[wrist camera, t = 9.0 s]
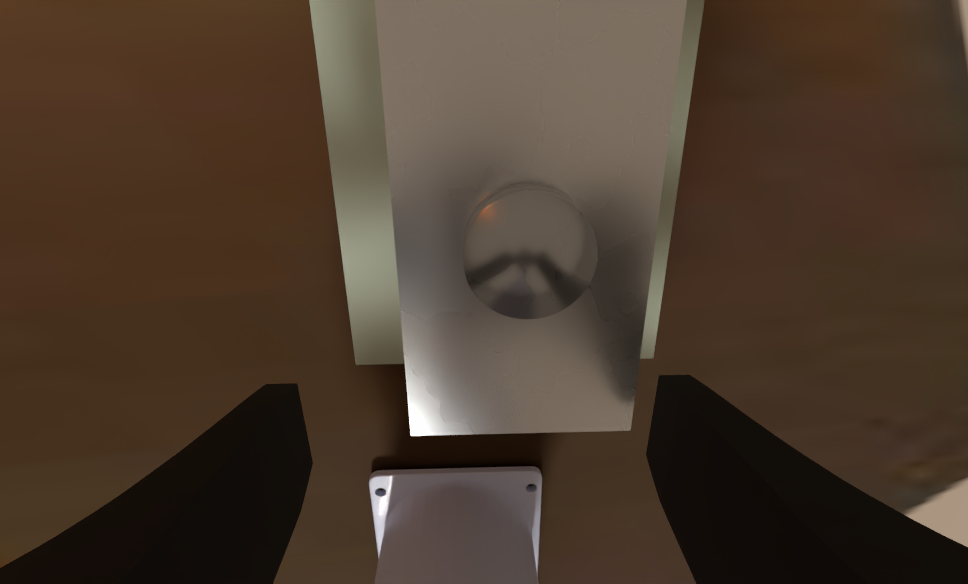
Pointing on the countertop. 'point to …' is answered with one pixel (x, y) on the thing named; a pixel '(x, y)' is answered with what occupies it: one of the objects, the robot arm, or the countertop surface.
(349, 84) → the stand
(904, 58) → the countertop surface
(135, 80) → the countertop surface
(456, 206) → the housing
